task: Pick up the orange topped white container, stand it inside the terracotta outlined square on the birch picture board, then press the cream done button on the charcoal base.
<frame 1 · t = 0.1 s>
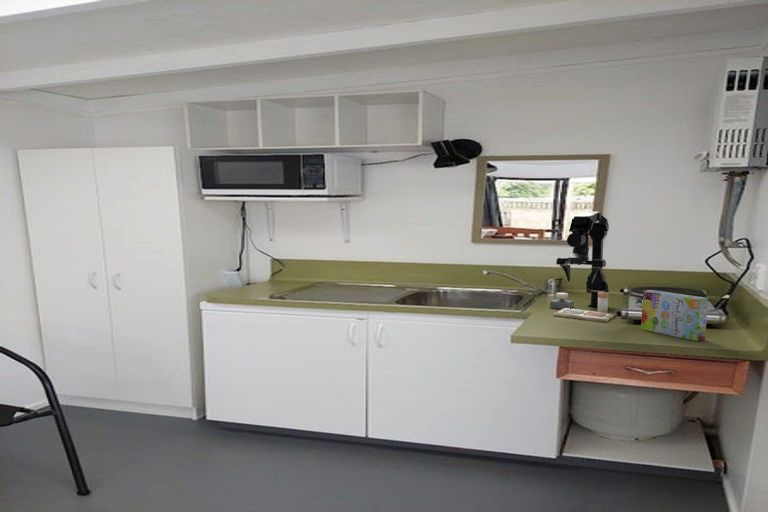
hand: (580, 282, 212), 15 cm above the counter, tool pointing down, fingers open, 9 cm apart
picture board: (584, 315, 215), on the counter
orange topped white container: (602, 312, 221), on the counter
button base: (561, 307, 233), on the counter
done button: (562, 298, 232), point 4 cm above the counter, slide at 0.0 cm
snack box: (671, 335, 184), on the counter
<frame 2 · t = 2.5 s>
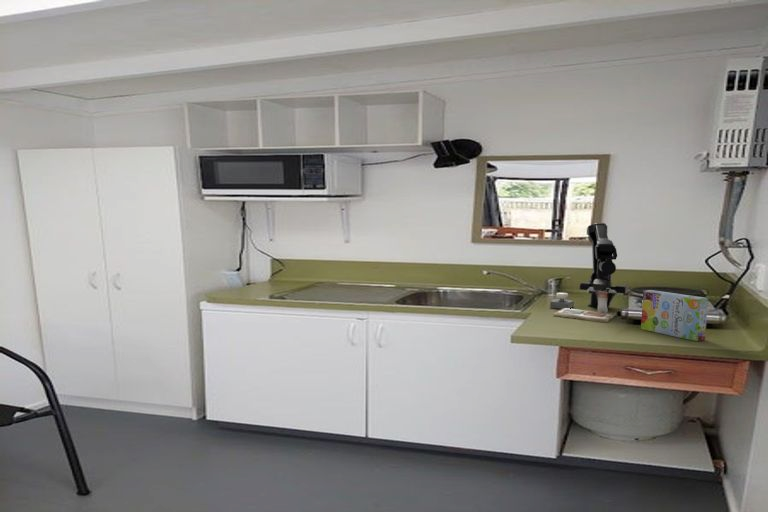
hand: (602, 307, 221), 3 cm above the counter, tool pointing down, fingers closed on orange topped white container, 4 cm apart
orange topped white container: (602, 312, 221), on the counter, touching gripper
everything else where it was.
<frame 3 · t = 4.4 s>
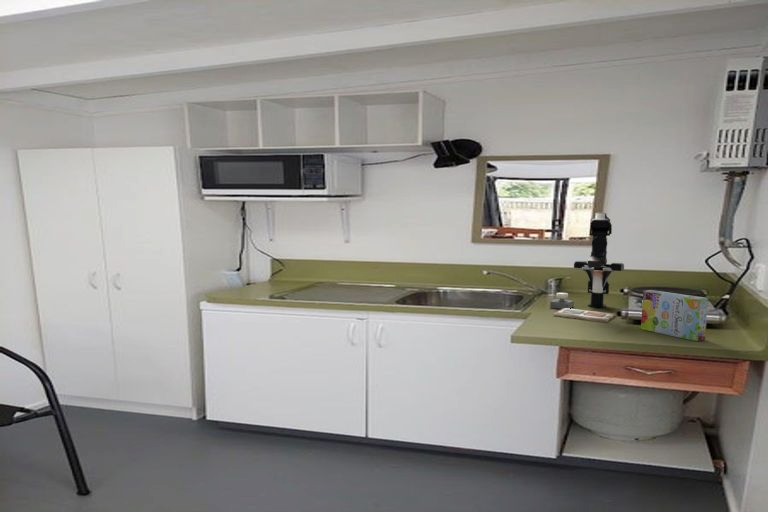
hand: (597, 286, 212), 13 cm above the counter, tool pointing down, fingers closed on orange topped white container, 4 cm apart
orange topped white container: (597, 292, 212), point 11 cm above the counter, touching gripper
everything else where it was.
when the fingers open (5 cm above the counter, at t = 6.3 s): orange topped white container drops 1 cm, resting on picture board.
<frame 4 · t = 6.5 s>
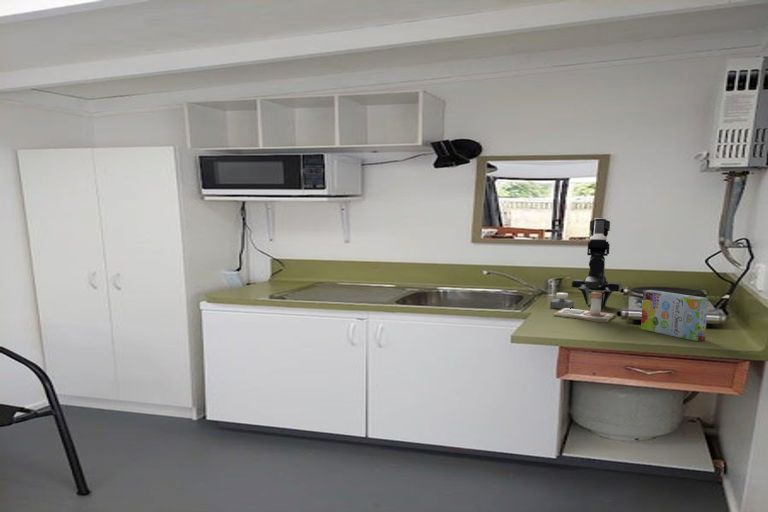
hand: (595, 305, 212), 5 cm above the counter, tool pointing down, fingers open, 6 cm apart
orange topped white container: (595, 314, 212), point 1 cm above the counter, touching picture board
everything else where it was.
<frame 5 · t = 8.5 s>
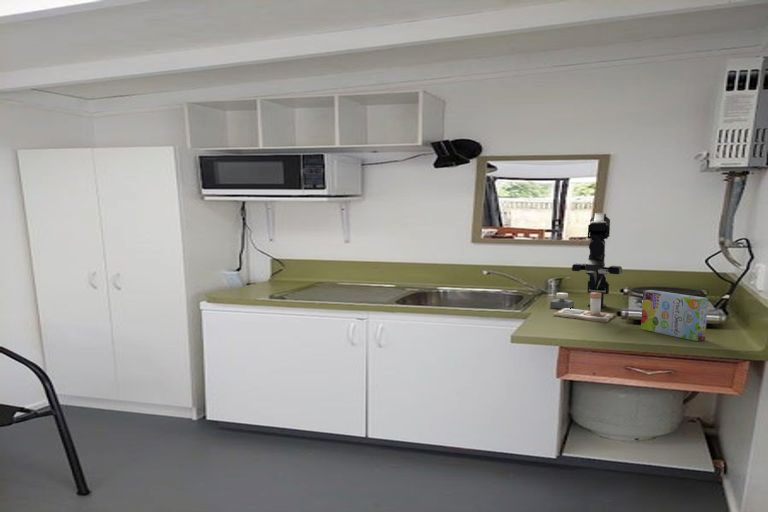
hand: (595, 289, 211), 12 cm above the counter, tool pointing down, fingers closed
nothing on the counter moved.
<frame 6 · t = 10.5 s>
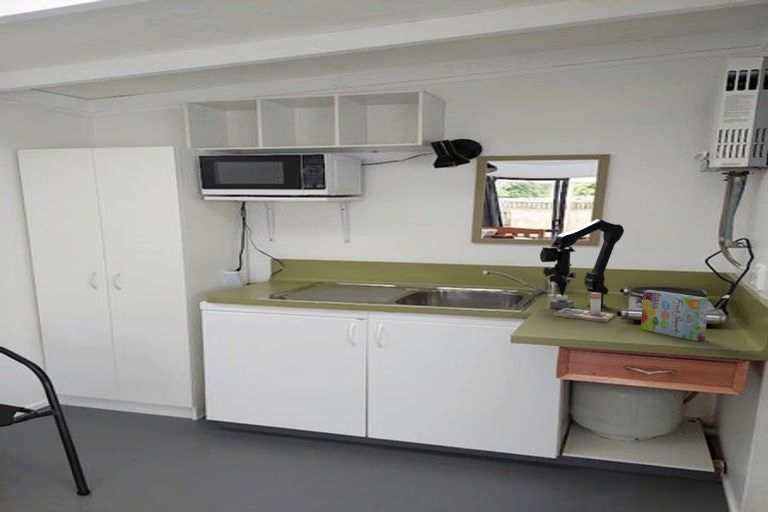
hand: (562, 295, 232), 6 cm above the counter, tool pointing down, fingers closed, pressing on done button
done button: (562, 300, 233), point 3 cm above the counter, slide at 0.8 cm, touching gripper
everything else where it was.
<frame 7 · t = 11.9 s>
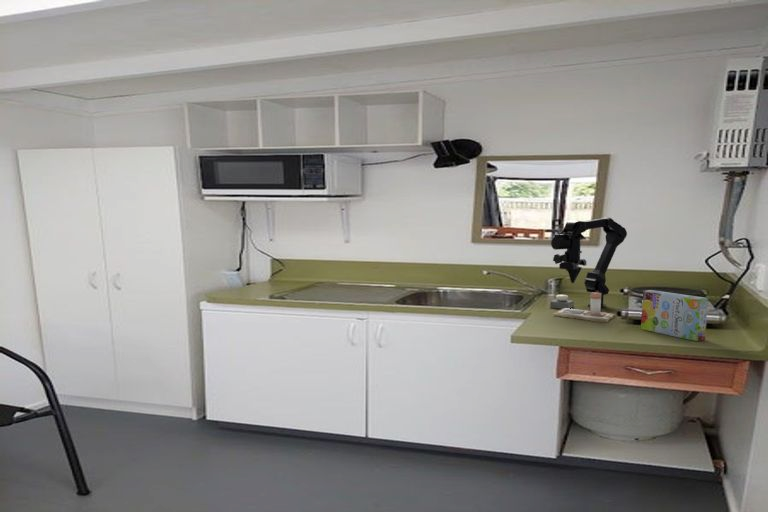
hand: (572, 282, 230), 12 cm above the counter, tool pointing down, fingers closed
done button: (562, 300, 233), point 3 cm above the counter, slide at 0.9 cm
everything else where it was.
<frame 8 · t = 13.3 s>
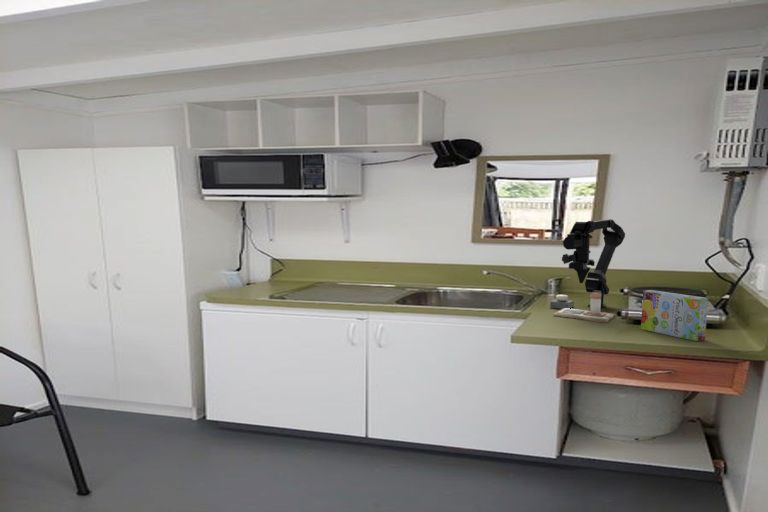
hand: (581, 283, 228), 12 cm above the counter, tool pointing down, fingers closed
nothing on the counter moved.
at the end: orange topped white container 0.0 cm from the target spot on the picture board, point 1.3 cm above the picture board's base; orange topped white container tilted 0°; done button slide at 0.9 cm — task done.
